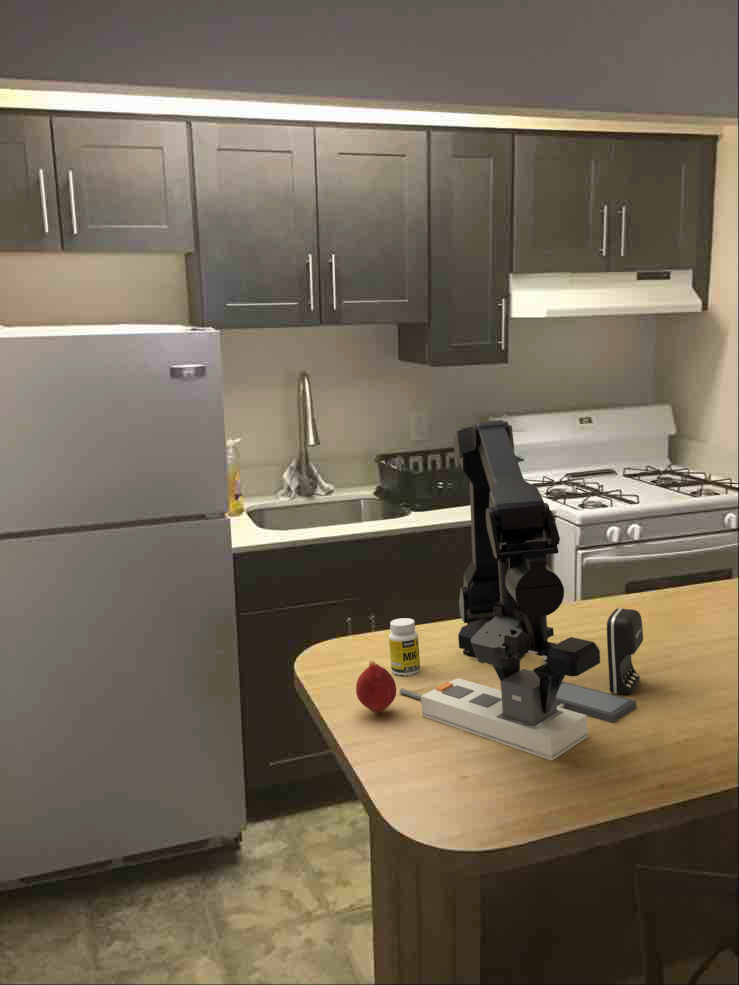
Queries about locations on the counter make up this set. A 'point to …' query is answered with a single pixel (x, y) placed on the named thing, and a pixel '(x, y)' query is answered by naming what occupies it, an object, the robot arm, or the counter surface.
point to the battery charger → (623, 649)
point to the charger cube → (524, 698)
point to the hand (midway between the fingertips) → (529, 707)
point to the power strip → (500, 719)
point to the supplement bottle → (404, 647)
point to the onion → (376, 688)
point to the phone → (593, 702)
